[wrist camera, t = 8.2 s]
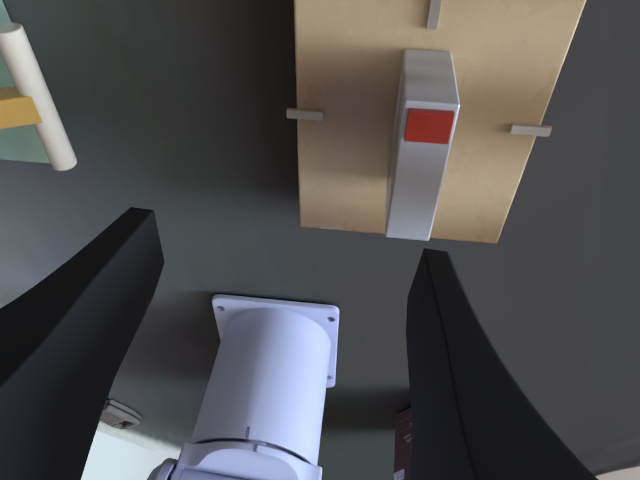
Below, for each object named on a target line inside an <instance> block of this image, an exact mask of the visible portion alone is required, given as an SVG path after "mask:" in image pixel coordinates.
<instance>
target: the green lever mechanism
mask: <svg viewBox="0 0 640 480" xmlns="http://www.w3.org/2000/svg"><path fill="white" fill-rule="evenodd" d="M10 22H11V19H10V17H9V15H8V12H7V10H6V8H5V5H4V3H3V0H0V24H3V23H10ZM13 86H15V84H14V82H13V79H12V77H11V75H10V73H9V71H8V68H7V66H6V64H5V62H4V60H3V57H2V55H1V53H0V88H5V87H13ZM0 160H12V161H24V162H37V163H49V164H51V163H50V161H49V159H48V157H47V154H46V152H45V150H44V148H43V146H42V143H41V141H40V139H39V137H38V135H37V132H36V130H35V128H34V126H33V124H31V125H25V126H18V127H11V128H5V129H0Z"/></svg>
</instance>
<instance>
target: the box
mask: <svg viewBox="0 0 640 480" xmlns="http://www.w3.org/2000/svg"><path fill="white" fill-rule="evenodd" d="M411 432H412V417H411V407H410V408H408V409H407V410H405V411H402V412H400V413H398V414H396V433H395V459H394V480H410V464H411Z"/></svg>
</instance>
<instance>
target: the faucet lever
mask: <svg viewBox="0 0 640 480" xmlns="http://www.w3.org/2000/svg"><path fill="white" fill-rule="evenodd" d="M0 53H1V55H2V57H3V60H4V62H5V64H6V66H7V68H8V71H9V73H10V75H11V77H12V79H13V82H14V84H15V86H13V87H5V88H0V129H5V128H11V127H18V126H25V125H31V124H33V126H34V128H35V130H36V132H37V135H38V137H39V139H40V141H41V143H42V146H43V148H44V150H45V152H46V154H47V157H48V159H49V161H50V163H51V165H52V168H53V169H55V170H57V171H65V170H69V169H71V168H73V167H74V166H75V165H76V164H77V159H76V156H75V154H74V151H73V149H72V146H71V144H70V141H69V139H68V136H67V134H66V131H65V129H64V126H63V124H62V121H61V119H60V117H59V114H58V112H57V109H56V107H55V104H54V102H53V99H52V97H51V94H50V92H49V89H48V87H47V84H46V82H45V79H44V77H43V75H42V72H41V70H40V67H39V65H38V62H37V60H36V57H35V55H34V52H33V50H32V47H31V45H30V42H29V40H28V38H27V35H26V33H25V30H24V28H23V26H22V25H21V24H20V23H14V22H10V23H3V24H0Z"/></svg>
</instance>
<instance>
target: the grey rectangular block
mask: <svg viewBox="0 0 640 480" xmlns="http://www.w3.org/2000/svg"><path fill="white" fill-rule="evenodd" d="M459 109H460V102H459V95H458V89H457V83H456V77H455V71H454V65H453V58H452V53H451V52H444V51H427V50H410V49H405V50H404V52H403V59H402V66H401V74H400V82H399V89H398V97H397V104H396V112H395V120H394V127H393V135H392V143H391V150H390V158H389V166H388V173H387V188H386V219H385V236H386V237H390V238H402V239H413V240H425V241H428V240H429V239H430V234H431V230H432V226H433V221H434V217H435V213H436V208H437V204H438V200H439V195H440V191H441V187H442V182H443V178H444V174H445V169H446V165H447V161H448V156H449V152H450V148H451V143H452V139H453V135H454V131H455V126H456V122H457V118H458V113H459Z"/></svg>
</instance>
